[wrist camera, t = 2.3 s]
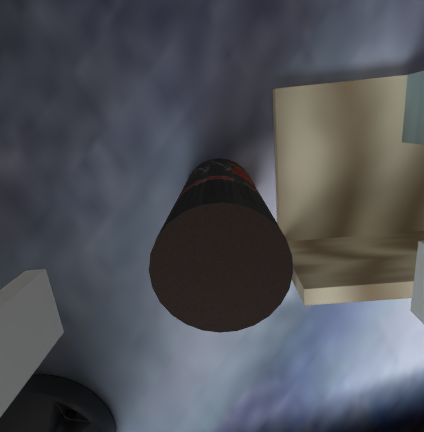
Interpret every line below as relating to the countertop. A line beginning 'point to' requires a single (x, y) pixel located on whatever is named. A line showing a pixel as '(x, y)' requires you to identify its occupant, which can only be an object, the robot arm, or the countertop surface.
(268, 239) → the deodorant
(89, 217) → the countertop surface
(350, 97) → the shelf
